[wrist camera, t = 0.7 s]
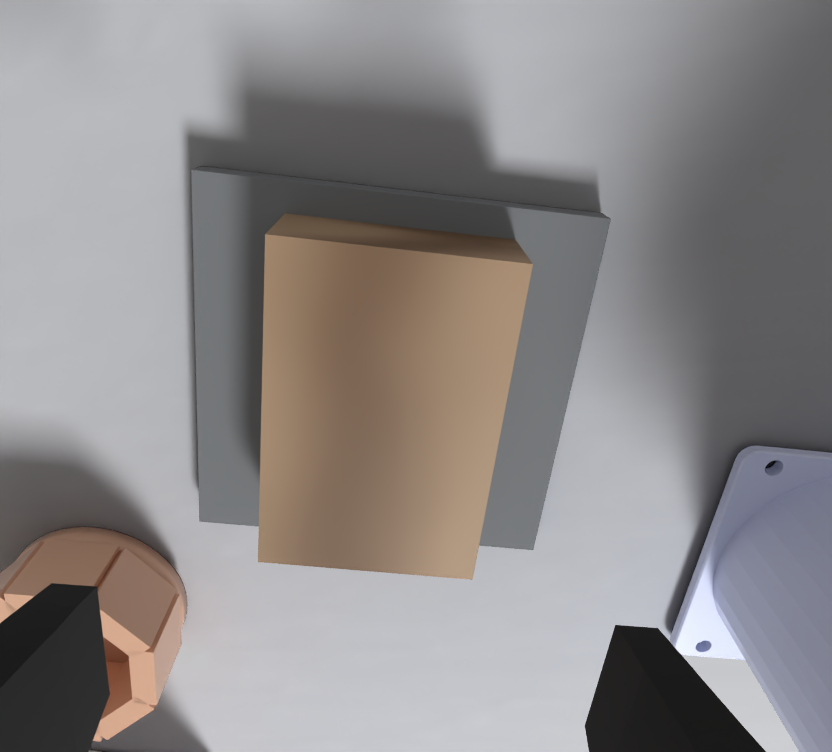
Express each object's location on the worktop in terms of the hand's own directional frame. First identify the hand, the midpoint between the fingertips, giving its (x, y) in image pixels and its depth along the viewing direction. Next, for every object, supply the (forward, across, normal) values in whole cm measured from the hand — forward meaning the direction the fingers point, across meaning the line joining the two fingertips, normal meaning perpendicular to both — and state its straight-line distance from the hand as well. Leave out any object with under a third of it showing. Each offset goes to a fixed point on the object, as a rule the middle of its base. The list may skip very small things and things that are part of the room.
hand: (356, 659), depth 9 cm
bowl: (+10, +8, +9) cm, 16 cm away
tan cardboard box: (+9, 0, 0) cm, 9 cm away
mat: (+10, 0, 0) cm, 10 cm away
